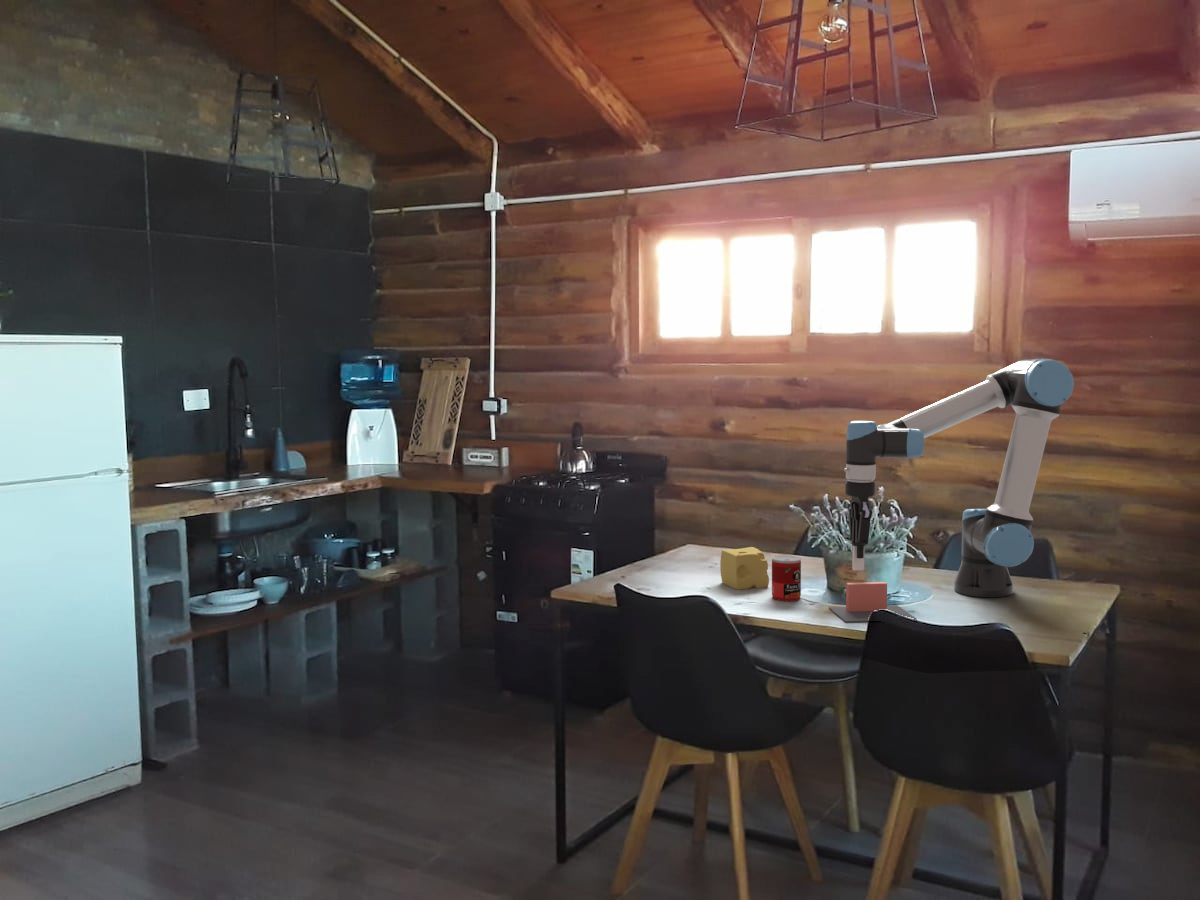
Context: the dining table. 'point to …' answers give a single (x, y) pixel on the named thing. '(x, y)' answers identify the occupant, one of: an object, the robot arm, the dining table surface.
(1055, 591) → the dining table surface
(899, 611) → the mat
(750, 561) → the cheese
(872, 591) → the block
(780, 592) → the canned food
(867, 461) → the robot arm
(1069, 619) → the dining table surface
